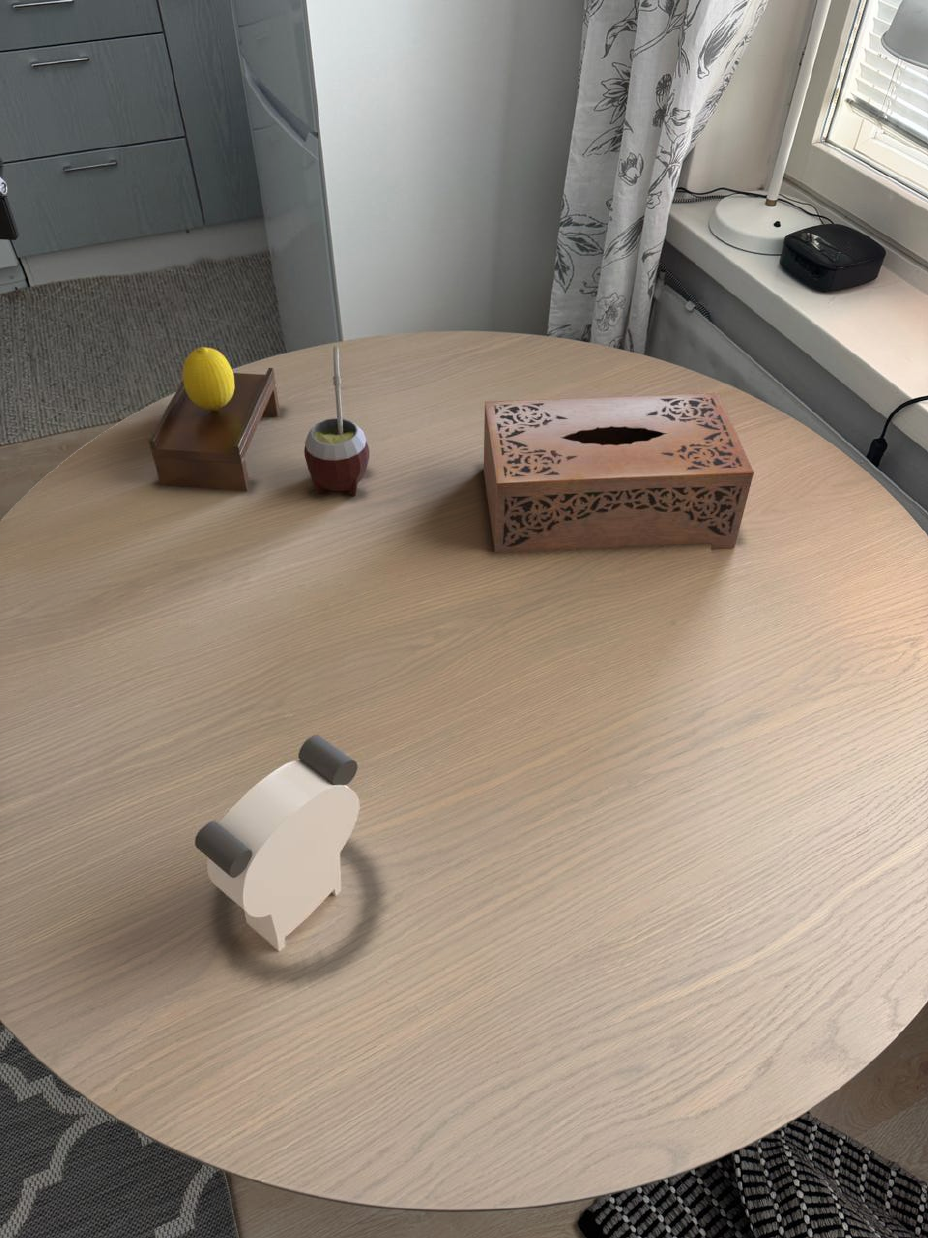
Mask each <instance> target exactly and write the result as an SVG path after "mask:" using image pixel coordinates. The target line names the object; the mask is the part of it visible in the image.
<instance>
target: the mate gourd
mask: <svg viewBox="0 0 928 1238" xmlns="http://www.w3.org/2000/svg"><path fill="white" fill-rule="evenodd" d="M339 350H340V349H339V346H337V345H335V346H333V354H332V355H333V376H332V381H333V386H334V393H335V405H336V417H333V418H327V419H323V420H321V421H319V422H317V423H315V425H313V426H312V427H311V429H310V430H309V432H308V433H307V436H306V439H305V441H304V449H303V451H304V454H303V455H304V458H305V463H306V466H307V470H308V472H309V474H310V476H311V481H312V483H313V486H314V488H315V490H316V492H317V494H318V495H322V494H324V493H327V492H329V491H332V492H346V493H347V494H349V495H350V496H352V497H356V495H357V491H358V484H359V483H360V482H361V481H362V479H363V478H364V477H365V474H366V472H367V468H368V464H369V461H370V447H369V444H368V442H367V437H366V435H365V432H364V431H363V430H362V428H360V427H359V426H358V425H357V424H356V423H355V422H354V421H352V420H348V419H346V418H343V408H342V395H341V394H342V392H341V386H342V377H341V376H340V357H339V356H340V355H339V353H340V351H339Z"/></svg>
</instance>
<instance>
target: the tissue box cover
mask: <svg viewBox="0 0 928 1238" xmlns="http://www.w3.org/2000/svg"><path fill="white" fill-rule="evenodd" d="M483 423H484V426H483V428H484V430H483V432H484V433H483V476H484V481H485V483H484V484H485V489H486V496H487V504H488V511H489V512H488V513H489V518H490V526H491V534H492V540H493V541H492V542H493V547H494V553H511V552H512V553H513V552H532V551H533V552H534V551H553V550H557V551H558V550H575V549H576V550H577V549H597V548H598V549H600V548H601V549H602V548H620V547H623V548H624V547H641V546H642V547H643V546H644V547H645V546H660V545H661V546H665V545H684V544H685V545H689V544H710V549H711V550H716V549H718V550H719V549H735V547H736V543H737V540H738V536H739V532H740V528H741V525H742V521H743V518H744V517H743V516H744V513H745V508H746V506H747V503H748V502H747V501H748V497H749V493H750V490H751V486H752V482H753V478H754V475H755V472H754V469H753V467H752V464H751V463H750V460H749V458H748V456H747V454H746V451H745V449H744V446H743V445H742V442H741V440H740V438H739V436H738V434H737V432H736V429H735V427H734V425H733V422H732V420H731V419H730V416H729V413H728V412H727V409H726V407H725V405H724V402H723V400H722V397H721V396H720V393H719V392H709V393H708V392H703V393H702V392H701V393H684V394H683V393H679V394H678V393H677V394H676V393H675V394H653V395H652V394H650V395H626V396H598V397H597V396H596V397H574V398H573V397H571V398H569V397H568V398H546V399H542V398H541V399H520V400H519V399H517V400H493V401H491V400H490V401H484V422H483Z"/></svg>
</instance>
